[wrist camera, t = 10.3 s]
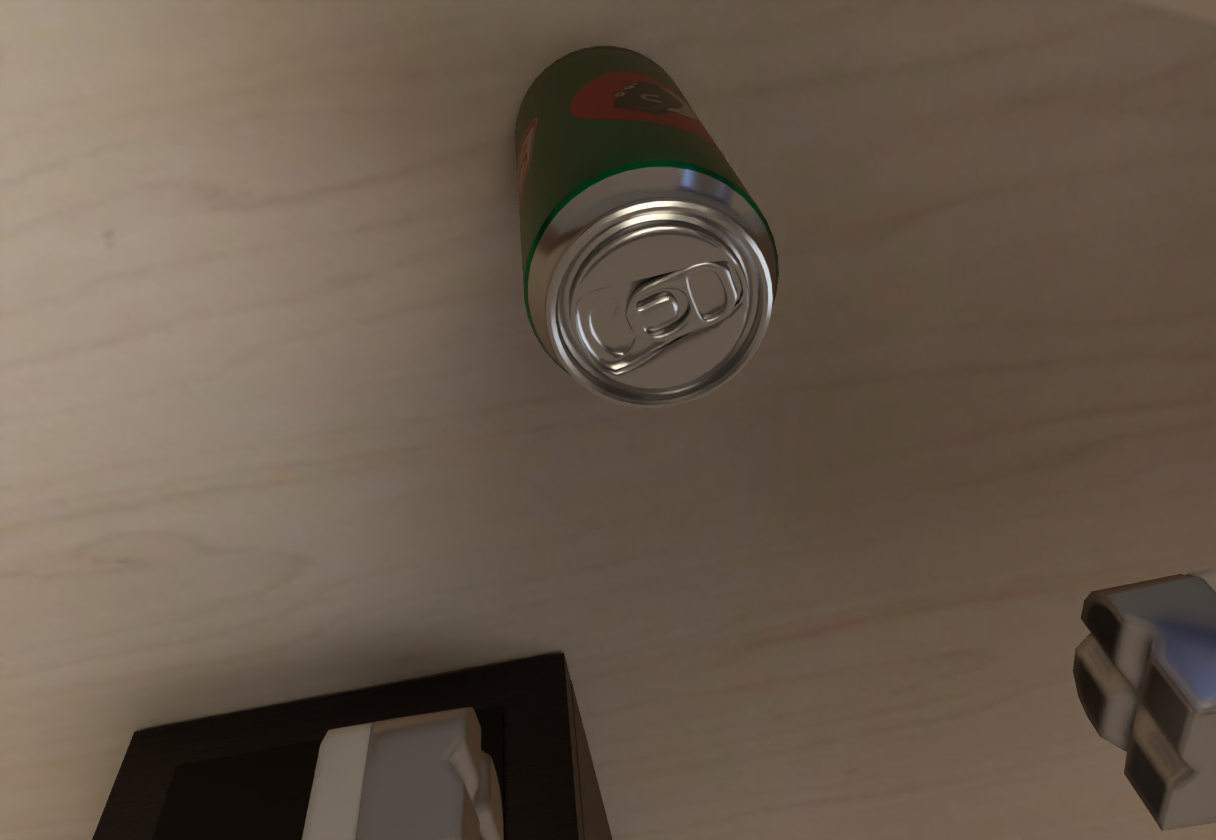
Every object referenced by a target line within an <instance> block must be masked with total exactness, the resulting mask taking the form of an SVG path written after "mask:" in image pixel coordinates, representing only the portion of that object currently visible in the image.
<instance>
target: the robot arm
mask: <svg viewBox="0 0 1216 840" xmlns="http://www.w3.org/2000/svg"><path fill="white" fill-rule="evenodd" d="M1081 619H1082V621H1083V622H1084V624H1085V625H1086V626H1087V628H1088V629H1089V631H1090V632H1091V633H1090V634H1089V635H1088V636H1087V637H1086V638H1085V639H1084V640H1083V641H1082V642H1081V643H1080V644H1079V645H1078V646H1077V647H1076V649H1075V658H1074V667H1073V673H1074V678H1075V683H1076V688H1077V693H1078V697H1079V699H1080V701H1081V704H1082V706H1083V708H1084V710H1085V713H1086V715H1087V717H1088V718H1089V720H1090V722H1091V723H1092V725H1093V726H1094V728H1095V729H1096V731H1097V733H1098V734H1099V736H1100V737H1102V738H1103V739H1105V740H1107V741H1109V742H1110V743H1112V744H1114V745H1115V746H1117V747H1119V748H1121V749H1122V750H1124V751H1126V752H1127V754H1126V761H1125V769H1124V774H1125V776H1126V777H1127V779H1128V780H1129V782H1130V783H1131V785H1132V786H1133V788H1134V789H1135V791H1136V792H1137V794H1138V795H1139V797H1140V798H1141V800H1142V801H1143V803H1144V804H1145V806H1146V807H1147V809H1148V810H1149V812H1150V813H1151V815H1152V816H1153V818H1154V819H1155V821H1156V822H1157V824H1158V825H1159V827H1160V828H1161V830H1162V831H1163V830H1170V829H1176V828H1183V827H1189V826H1196V825H1202V824H1209V823H1215V822H1216V568H1214V569H1208V570H1203V571H1197V572H1192V573H1188V574H1186V575H1184V574H1178V575H1173V576H1168V577H1163V578H1158V579H1153V580H1147V581H1142V582H1137V583H1132V584H1127V585H1122V586H1117V587H1112V588H1107V589H1102V590H1096V591H1092V592H1091V593H1090V594H1089V595H1088V597H1087V598H1086V599H1085V600H1084V604H1083V609H1082V614H1081ZM302 840H504V831H503V812H502V803H501V793H500V787H499V783H498V778H497V774H496V770H495V767H494V764H493V761H492V758H491V755H489V754H487V753H486V752H484V751H482V750H481V726H480V724H479V721H478V719H477V716H476V714H475V711H474V708H472V707H465V708H459V709H452V710H446V711H440V712H433V713H427V714H420V715H414V716H408V717H401V718H395V719H388V720H382V721H376V722H373V723H367V724H361V725H354V726H348V727H342V728H336V729H330V730H328V732H327V734H326V735H325V737H324V739H323V741H322V743H321V745H320V749H319V754H318V759H317V764H316V770H315V775H314V780H313V785H312V790H311V795H310V800H309V805H308V810H307V816H306V821H305V826H304V831H303V836H302Z"/></svg>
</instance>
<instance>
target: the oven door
mask: <svg viewBox="0 0 1216 840" xmlns="http://www.w3.org/2000/svg"><path fill="white" fill-rule="evenodd" d="M465 707H472V708H474V711H475V714H476V716H477V719H478V721H479V724H480V726H481V750H482V751H484V752H486V753H487V754H489V755H491V758H492V761H493V764H494V767H495V770H496V774H497V778H498V783H499V787H500V793H501V803H502V812H503V831H504V840H584V834H583V822H582V810H581V798H580V786H579V775H578V763H577V751H576V739H575V727H574V715H573V703H572V692H571V680H570V675H569V671H568V667H567V664H566V660H565V656H564V653H561V654H555V655H550V656H544V657H539V658H533V659H528V660H522V661H517V662H512V663H506V664H501V665H495V666H490V667H484V668H479V669H474V670H468V671H463V672H457V673H452V674H446V675H441V676H435V677H430V678H425V679H419V680H414V681H408V682H403V683H397V684H392V685H386V686H381V687H376V688H370V689H365V690H359V691H354V692H348V693H343V694H337V695H332V696H327V697H321V698H316V699H310V700H305V701H299V702H294V703H289V704H283V705H278V706H272V707H267V708H261V709H256V710H250V711H245V712H240V713H234V714H229V715H223V716H218V717H212V718H207V719H201V720H196V721H191V722H185V723H180V724H174V725H169V726H163V727H158V728H152V729H147V730H142V731H136V732H134V734H133V737H132V739H131V742H130V744H129V747H128V749H127V752H126V754H125V757H124V760H123V762H122V765H121V767H120V770H119V772H118V775H117V777H116V780H115V783H114V785H113V788H112V790H111V793H110V795H109V798H108V800H107V803H106V806H105V808H104V811H103V813H102V816H101V818H100V821H99V823H98V826H97V828H96V831H95V834H94V836H93V839H92V840H302V836H303V831H304V826H305V821H306V816H307V810H308V805H309V800H310V795H311V790H312V785H313V780H314V775H315V770H316V764H317V759H318V754H319V749H320V745H321V743H322V741H323V739H324V737H325V735H326V734H327V732H328V730H330V729H336V728H342V727H348V726H354V725H361V724H367V723H373V722H376V721H382V720H388V719H395V718H401V717H408V716H414V715H420V714H427V713H433V712H440V711H446V710H452V709H459V708H465Z"/></svg>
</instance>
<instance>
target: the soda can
mask: <svg viewBox="0 0 1216 840" xmlns="http://www.w3.org/2000/svg"><path fill="white" fill-rule="evenodd" d="M515 141H516V161H517V179H518V197H519V215H520V233H521V251H522V269H523V287H524V301H525V306H526V311H527V315H528V319H529V322H530V324H531V327H532V329H533V332H534V334H535V336H536V338H537V339H538V341H539V343H540V344H541V346H542V347H543V349H544V351H545V352H546V353H547V354H548V355H549V356H550V357H551V359H552V360H553V361H554V362H555V363H556V364H557V365H558V366H559V367H560V368H562V369H563V370H564V371H565V372H566V373H568V374H569V375H570V376H572V377H573V378H574V379H575V380H576V381H577V382H579V383H580V384H581V385H582V386H583V387H585V388H586V389H587V390H589V391H591V392H592V393H594V394H596V395H597V396H599V397H601V398H604V399H606V400H609V401H611V402H614V403H617V404H621V405H626V406H630V407H639V408H665V407H671V406H676V405H681V404H684V403H688V402H691V401H694V400H697V399H699V398H701V397H703V396H706V395H708V394H710V393H712V392H713V391H715V390H717V389H718V388H720V387H721V386H723V385H725V384H726V383H727V382H728V381H730V380H731V379H732V378H733V377H734V376H736V375H737V374H738V373H739V372H740V371H741V370H742V369H743V367H744V366H745V365H746V364H747V363H748V362H749V361H750V359H751V358H752V356H753V355H754V353H755V352H756V350H757V349H758V347H759V346H760V344H761V341H762V339H763V337H764V335H765V333H766V330H767V327H768V323H769V320H770V317H771V310H772V307H773V303H774V300H775V297H776V293H777V285H778V277H779V271H778V255H777V250H776V246H775V241H774V237H773V235H772V233H771V230H770V228H769V225H768V223H767V221H766V219H765V218H764V216H763V214H762V213H761V211H760V210H759V208H758V207H757V205H756V203H755V202H754V200H753V199H752V198H751V196H750V195H749V193H748V192H747V190H746V189H745V187H744V186H743V184H742V183H741V181H740V180H739V178H738V177H737V175H736V174H735V172H734V171H733V169H732V168H731V166H730V165H729V163H728V162H727V160H726V159H725V157H724V156H723V154H722V153H721V151H720V150H719V148H718V147H717V145H716V144H715V142H714V141H713V139H712V138H711V136H710V135H709V133H708V132H707V130H706V129H705V127H704V126H703V124H702V123H701V121H700V120H699V118H698V117H697V115H696V114H695V112H694V111H693V109H692V108H691V106H690V105H689V103H688V102H687V100H686V99H685V97H684V96H683V94H682V93H681V91H680V90H679V88H678V87H677V85H676V84H675V82H674V81H673V79H672V78H671V77H670V76H669V75H668V74H667V73H666V72H665V71H664V69H662V68H661V67H660V66H659V65H657V64H656V63H655V62H654V61H652V60H651V59H649V58H647V57H645V56H643V55H642V54H640V53H637V52H634V51H631V50H628V49H625V48H619V47H613V46H596V47H591V48H585V49H581V50H578V51H575V52H572V53H569V54H568V55H566V56H564V57H562V58H560V59H558V60H556V61H555V62H554V63H553V64H551V65H550V66H549V67H547V68H546V69H545V70H544V71H543V72H542V73H541V74H540V75H539V76H538V77H537V78H536V79H535V81H534V82H533V84H532V85H531V87H530V88H529V90H528V91H527V93H526V95H525V97H524V99H523V101H522V104H521V106H520V110H519V113H518V117H517V122H516V130H515Z"/></svg>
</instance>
